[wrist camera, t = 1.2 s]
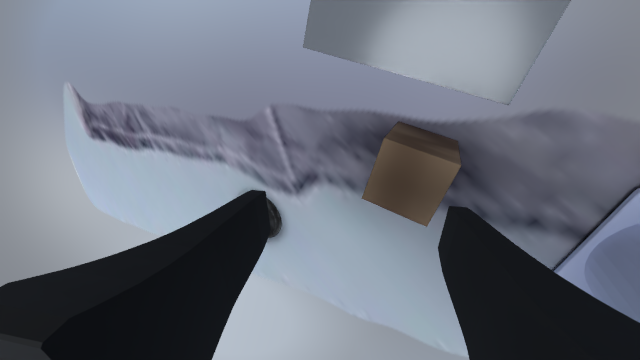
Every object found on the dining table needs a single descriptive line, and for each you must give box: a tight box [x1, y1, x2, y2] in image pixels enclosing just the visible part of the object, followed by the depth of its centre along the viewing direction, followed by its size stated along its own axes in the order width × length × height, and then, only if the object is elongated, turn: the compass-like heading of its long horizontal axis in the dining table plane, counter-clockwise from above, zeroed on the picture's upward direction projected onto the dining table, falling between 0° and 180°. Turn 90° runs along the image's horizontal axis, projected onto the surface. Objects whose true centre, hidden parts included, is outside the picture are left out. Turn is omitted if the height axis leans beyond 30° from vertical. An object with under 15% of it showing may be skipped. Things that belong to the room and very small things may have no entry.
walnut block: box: [362, 122, 461, 227], centre depth 16 cm, size 4×4×5 cm
